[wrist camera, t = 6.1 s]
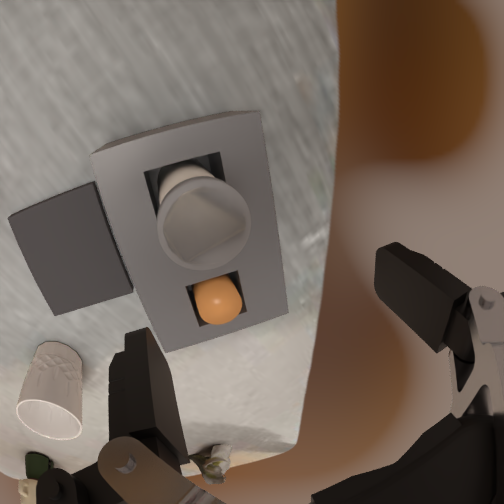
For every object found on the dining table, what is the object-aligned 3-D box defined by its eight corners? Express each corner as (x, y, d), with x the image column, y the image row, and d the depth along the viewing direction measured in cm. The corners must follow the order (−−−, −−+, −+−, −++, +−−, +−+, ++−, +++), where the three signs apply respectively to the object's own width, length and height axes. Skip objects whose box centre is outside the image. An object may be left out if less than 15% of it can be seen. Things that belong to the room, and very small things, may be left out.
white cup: (88, 383, 35) (85, 444, 26) (36, 375, 31) (24, 433, 23) (86, 342, 32) (78, 406, 24) (28, 332, 29) (8, 393, 20)
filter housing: (105, 144, 24) (89, 155, 18) (231, 111, 27) (259, 110, 20) (159, 304, 33) (165, 353, 26) (260, 272, 35) (288, 312, 29)
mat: (11, 214, 23) (7, 218, 23) (94, 181, 25) (92, 183, 25) (56, 310, 29) (54, 316, 28) (133, 287, 31) (133, 292, 30)
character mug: (67, 468, 42) (69, 521, 31) (43, 469, 41) (43, 519, 30) (35, 444, 37) (32, 502, 26) (11, 445, 35) (6, 499, 24)
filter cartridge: (147, 161, 25) (145, 196, 14) (203, 146, 26) (242, 170, 15) (162, 213, 27) (173, 281, 17) (214, 198, 28) (257, 255, 18)
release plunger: (185, 266, 28) (193, 296, 23) (222, 254, 28) (237, 282, 24) (195, 297, 29) (205, 329, 25) (230, 286, 30) (245, 316, 26)
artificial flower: (118, 428, 42) (132, 470, 34) (227, 430, 55) (253, 461, 46) (112, 460, 42) (126, 500, 34) (215, 458, 55) (237, 489, 47)
